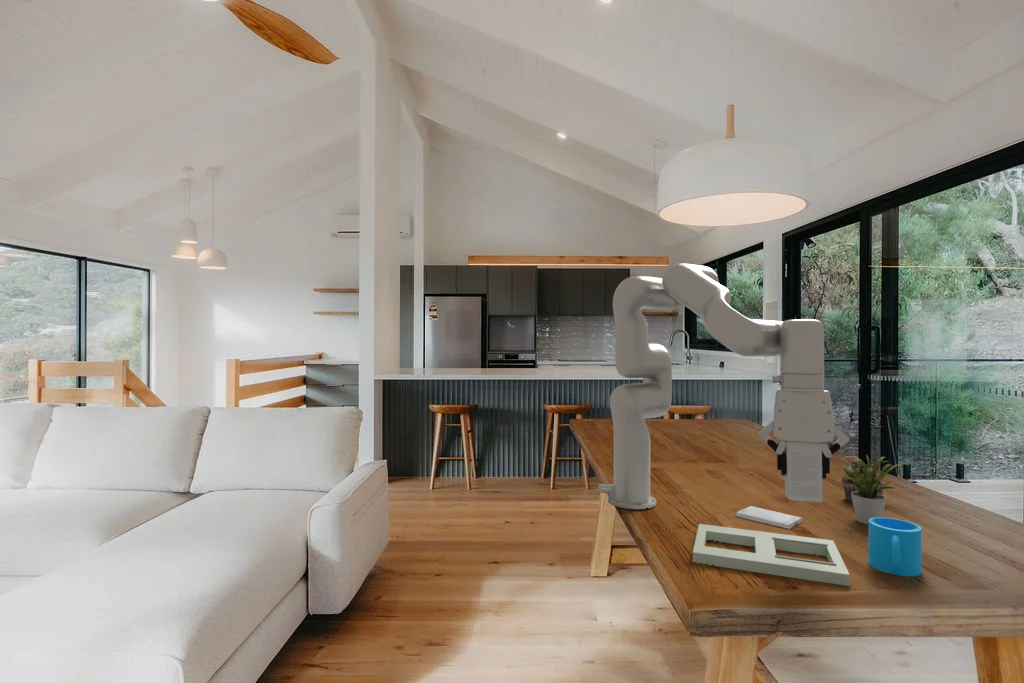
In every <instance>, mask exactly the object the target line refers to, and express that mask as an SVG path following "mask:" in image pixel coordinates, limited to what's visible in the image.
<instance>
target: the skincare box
mask: <svg viewBox="0 0 1024 683" xmlns="http://www.w3.org/2000/svg"><path fill="white" fill-rule="evenodd" d="M784 453H785V455H786V475H785V476H784V493H785V496H786V499H787V500H789V501H799V502H800V501H801V502H815V503H823V501H824V499H823V498H824V497H823V496H824V495H823V491H824V490H823V478H822V444H820V443H801V442H786V447H785V449H784Z"/></svg>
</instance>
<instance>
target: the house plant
mask: <svg viewBox="0 0 1024 683" xmlns="http://www.w3.org/2000/svg"><path fill="white" fill-rule="evenodd" d="M852 456H853V457H854V458H855V459H856V461H857V462H859V463H858V464H860V465H859V466H861V468H862V471H863V474H864V478H865V481H866V482H865V481H864V478H863V476H862V475H861V473H860V472H859V471H858V470H857V469H856V468H855V467H854V466H853V465H852V464H851V463H850V462H849V461H847V459H844V458H842V457H841V459H842V460H844V461H845V462H846V464H847V465H848V466H849V465H850V467H851V468H852V469H853V470H854V472H855V473H856V474H857V476H858V477H859V479H858V478H857V477H856V476H855V475H854V474H853V473H852V472H851V471H850V470H849V469H848V467H846V466H845V465H843V464H842V465H841V464H840V467H841V468H842V469H843V471H844V474H845V473H846V474H847V475H848V476H845V475H844V476H845V477H848V478H846V479H849V480H851V481H853V482H854V483H855V484H856V486H855V487H857V489H858V491H855V492H852V493H851V495H852V501H853V502H852V505H853V512H854V517H855V520H856V522H859V523H861V524H866V525H869V519H871V518H878V517H881V518H884V513H885V507H886V504H887V503H886V502H887V497H886V495H884V494H882V495H881V494H877V493H878V492H879V491H880V490H882V489H883V490H887V489H889V490H890V489H892V490H893V489H894V490H897V489H896V488H895V487H892V486H887V485H892V484H893V485H897V483H895V482H893V481H891V482H890V481H889V482H886V483H882V484H883V485H879V483H880V482H881V481H882V480H883V478H884V477H885V476H886V475H887V474H888V473H889V472H890V471H892V470H893V469H895V468H896V467H898V466H900V465H909V463H907V462H905V463H904V462H903V463H897V464H894V465H893V464H891V463H887V464H885V465H884V466H882V468H881V470H880V472H879V475H878V477H877V478H875V477H876V474H877V472H878V470H879V468H880V466H881V465H882V464H883V463H885V462H888V460H884V461H883V459H885V458H886V456H880V457H879V458H877V460H876V461H875V462H874V463H873V466H872V467H871V462H870V459H869V456H868V455H867V454H865V456H866V460H867V463H866V462H864V460H862V459H861V458H860V457H859V456H857V455H855V454H854V455H853V454H852ZM866 464H868V469H867V467H866ZM845 477H844V478H845ZM842 478H843V476H841V480H842ZM875 479H876V480H875ZM850 485H851V486H854V485H853V484H850ZM848 486H849V485H848ZM878 486H879V489H878V490H877V488H878ZM880 486H881V487H880Z"/></svg>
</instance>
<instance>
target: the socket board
mask: <svg viewBox="0 0 1024 683" xmlns="http://www.w3.org/2000/svg"><path fill="white" fill-rule="evenodd" d="M706 539H707V540H706ZM708 540H714V541H713V542H716V541H719V542H718V543H723V542H724V543H725V544H733V545H738V546H740V545H741V546H748V547H753V546H754V552H749V551H744V550H743V551H742V550H736V549H730V548H729V549H727V548H721V547H713V546H706V545H705V544H707V541H708ZM693 544H694V545H693V550H692V563H693V562H699V563H705V564H708V565H707V566H712V565H714V567H719V568H726V569H732V570H740V571H747V572H753V573H758V574H759V573H760V574H766V575H772V576H773V575H774V576H780V577H785V578H786V577H787V578H793V579H800V580H805V581H806V580H807V581H812V582H819V583H820V582H821V583H826V584H832V585H833V584H834V585H837V586H838V585H839V586H845V587H851V584H850V583H851V576H850V575H851V574H850V573H849V571H848V568H847V566H846V564H845V562H844V560H843V558H842V556H841V554H840V551H839V550H838V548H837V546H836V543H835V541H834V540H833V539H824V538H817V537H809V536H801V535H793V534H792V535H791V534H783V533H778V532H776V533H775V532H769V531H768V532H766V531H761V530H753V529H752V530H750V529H743V528H735V527H729V526H719V525H711V524H702V523H698V527H697V532H696V535H695V540H694V543H693ZM776 550H777V551H782V552H783V551H784V552H791V553H798V554H805V553H806V555H813V554H816V555H815V556H820V555H822V556H823V557H826V558H827V561H823V560H821V561H819V560H813V559H805V558H798V557H791V556H784V555H778V554H777V552H776ZM699 563H698V564H699ZM705 564H704V565H705Z"/></svg>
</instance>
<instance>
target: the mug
mask: <svg viewBox="0 0 1024 683" xmlns="http://www.w3.org/2000/svg"><path fill="white" fill-rule="evenodd" d="M922 563H923V562H922V527H921V526H920V525H918V524H916V523H913V522H911V521H907V520H902V519H899V518H898V519H897V518H892V517H883V518H881V517H878V518H871V519H869V524H868V564H869V565H870V567H872V568H874V569H876V570H877V571H879V572H884V573H887V574H889V573H891V575H894V574H895V575H894V576H899V575H901V576H900V577H911V576H912V577H918V576H920V574H922V566H923V564H922Z"/></svg>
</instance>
